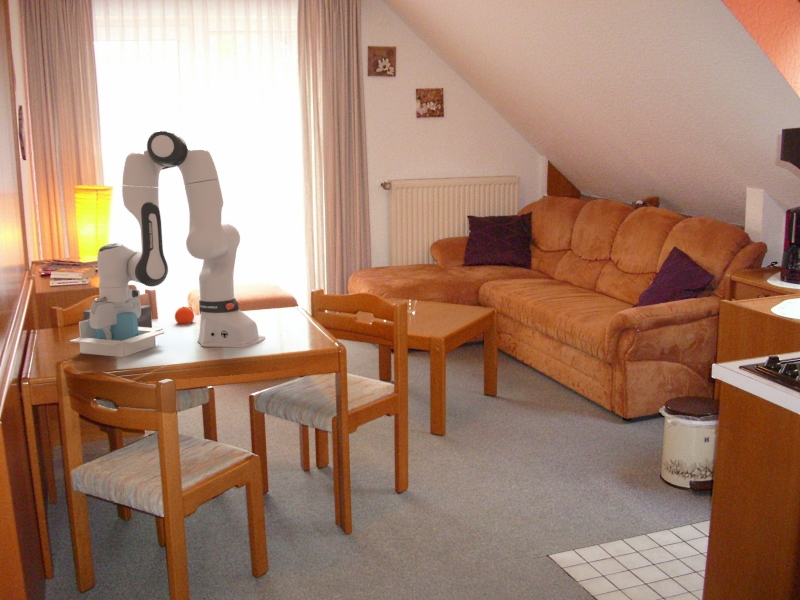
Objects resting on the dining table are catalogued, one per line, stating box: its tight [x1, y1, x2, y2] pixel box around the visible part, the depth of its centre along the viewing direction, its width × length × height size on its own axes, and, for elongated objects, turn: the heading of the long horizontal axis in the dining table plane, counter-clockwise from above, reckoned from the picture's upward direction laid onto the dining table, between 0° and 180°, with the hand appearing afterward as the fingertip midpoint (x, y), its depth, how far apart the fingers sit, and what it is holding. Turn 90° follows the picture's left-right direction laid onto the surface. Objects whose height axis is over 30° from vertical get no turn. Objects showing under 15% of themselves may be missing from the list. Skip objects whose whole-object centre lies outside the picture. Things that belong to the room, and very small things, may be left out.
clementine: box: [174, 306, 195, 325], centre depth 293 cm, size 8×7×7 cm
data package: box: [96, 312, 138, 341], centre depth 255 cm, size 12×4×12 cm, turn 90°
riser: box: [82, 304, 153, 328], centre depth 280 cm, size 16×16×9 cm
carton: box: [69, 319, 165, 358], centre depth 254 cm, size 21×24×10 cm
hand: (117, 337), depth 255 cm, fingers closed on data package, 6 cm apart
